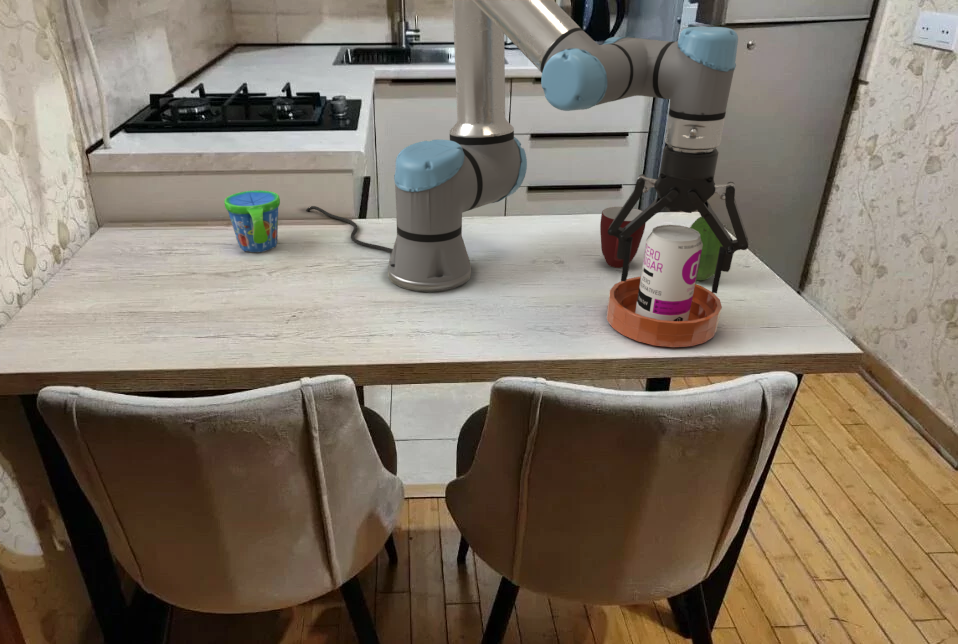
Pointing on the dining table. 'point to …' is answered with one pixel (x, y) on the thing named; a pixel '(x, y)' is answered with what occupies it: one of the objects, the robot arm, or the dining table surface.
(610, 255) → the mug
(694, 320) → the bowl
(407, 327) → the dining table surface
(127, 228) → the dining table surface
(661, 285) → the supplement can
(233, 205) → the snack cup
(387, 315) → the dining table surface
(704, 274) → the avocado
